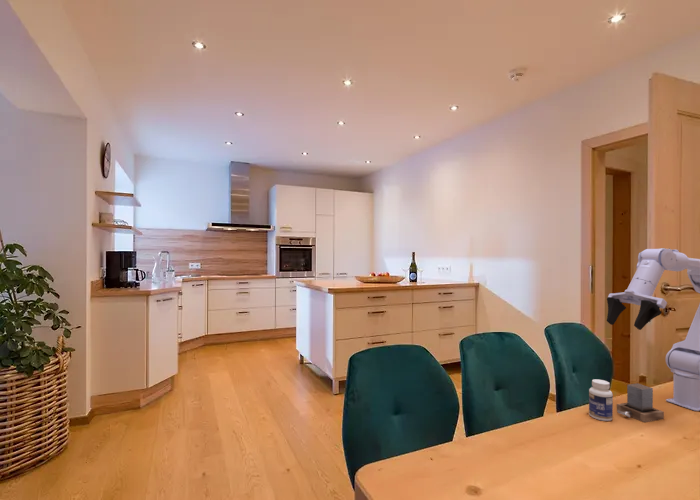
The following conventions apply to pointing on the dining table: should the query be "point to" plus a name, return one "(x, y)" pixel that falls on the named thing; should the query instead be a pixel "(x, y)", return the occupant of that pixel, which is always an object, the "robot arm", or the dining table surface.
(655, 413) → the walnut clamp block
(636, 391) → the steel post
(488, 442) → the dining table surface
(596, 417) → the pill bottle
